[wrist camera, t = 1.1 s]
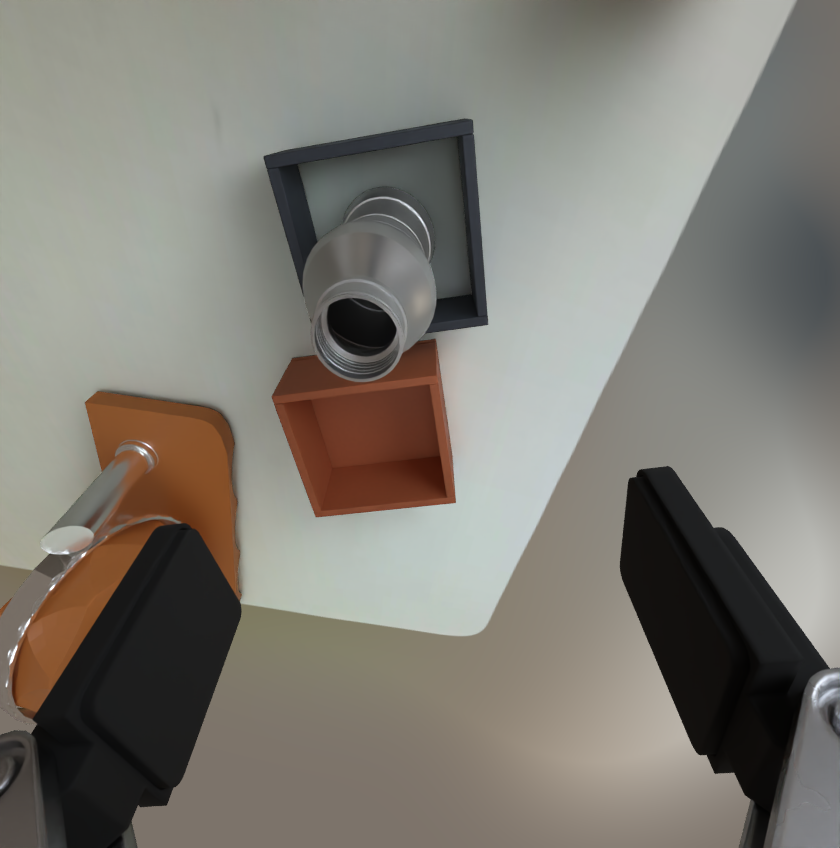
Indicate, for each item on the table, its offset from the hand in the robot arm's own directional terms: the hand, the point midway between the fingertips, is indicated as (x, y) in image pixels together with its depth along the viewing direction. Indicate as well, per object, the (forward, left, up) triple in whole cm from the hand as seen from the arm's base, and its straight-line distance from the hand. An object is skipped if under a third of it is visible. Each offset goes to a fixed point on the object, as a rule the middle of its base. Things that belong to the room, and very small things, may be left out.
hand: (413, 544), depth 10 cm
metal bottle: (-1, -2, -30) cm, 30 cm away
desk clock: (+24, -30, -30) cm, 49 cm away
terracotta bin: (+14, -6, -30) cm, 34 cm away
